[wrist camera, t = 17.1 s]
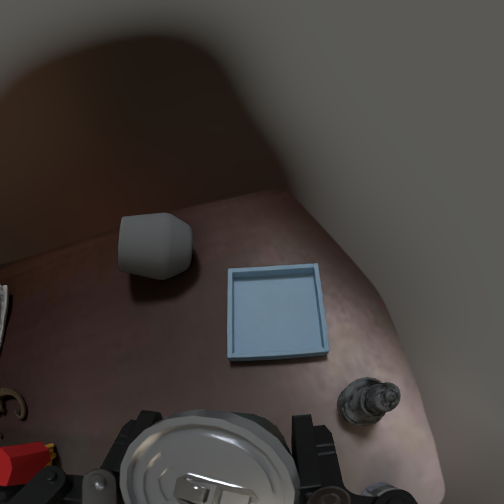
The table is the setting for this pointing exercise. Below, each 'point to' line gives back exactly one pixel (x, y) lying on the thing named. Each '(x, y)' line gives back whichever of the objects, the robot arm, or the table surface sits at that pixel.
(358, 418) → the grey chess piece
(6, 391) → the seahorse
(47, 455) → the french fries
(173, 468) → the beer can
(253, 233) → the table surface
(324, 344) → the tray
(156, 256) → the cup
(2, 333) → the seashell
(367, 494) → the pill bottle
